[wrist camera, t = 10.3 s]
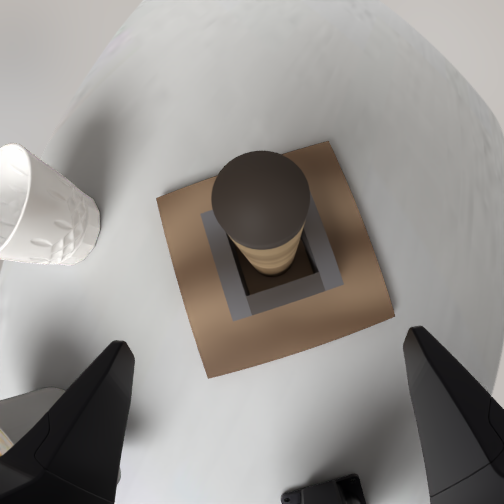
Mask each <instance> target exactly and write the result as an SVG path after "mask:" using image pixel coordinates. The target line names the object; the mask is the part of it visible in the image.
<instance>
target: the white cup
mask: <svg viewBox="0 0 504 504" xmlns="http://www.w3.org/2000/svg"><path fill="white" fill-rule="evenodd" d="M99 231H100V212H99V210H98V208H97V206H96V204H95V202H94V200H93V199H92V198H91V197H89V196H88V195H86V194H85V193H83V192H82V191H81V190H79V189H78V188H77V187H76V186H75V185H74V184H73V183H72V182H70V181H69V180H68V179H67V178H66V177H64V176H63V175H61V174H60V173H59V172H58V171H56V170H55V169H54V168H52V167H50V166H49V165H48V164H46V163H45V162H43V161H42V160H41V159H39V158H38V157H36V156H35V155H34V154H32V153H31V152H30V151H28V150H27V149H26V148H24V147H23V146H22V145H20V144H17V143H10V144H6V145H4V146H2V147H0V259H1V260H9V261H16V262H22V263H34V264H45V265H48V264H59V265H68V266H72V265H74V264H76V263H78V262H80V261H82V260H84V259H85V258H86V257H87V255H88V254H89V253H90V252H91V250H92V249H93V248H94V246H95V244H96V241H97V238H98V234H99Z"/></svg>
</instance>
